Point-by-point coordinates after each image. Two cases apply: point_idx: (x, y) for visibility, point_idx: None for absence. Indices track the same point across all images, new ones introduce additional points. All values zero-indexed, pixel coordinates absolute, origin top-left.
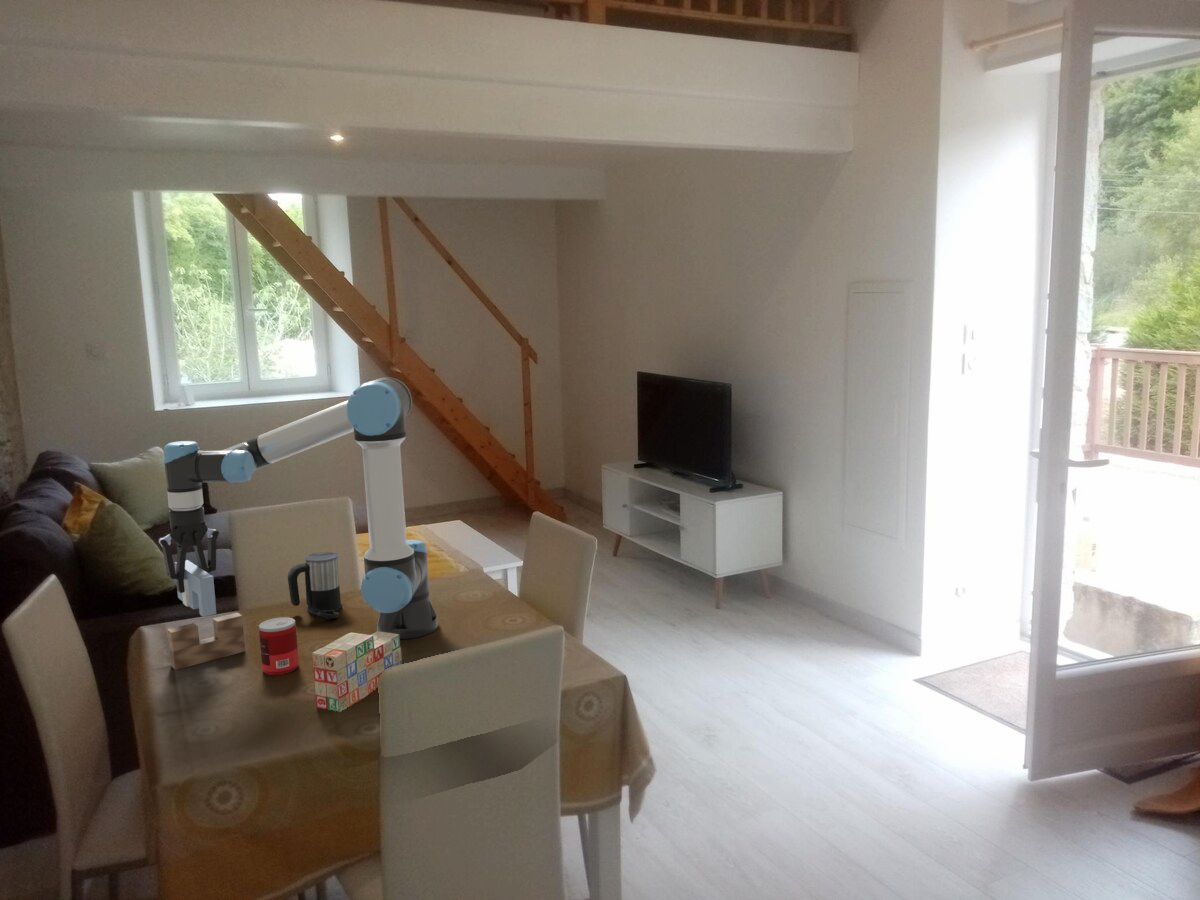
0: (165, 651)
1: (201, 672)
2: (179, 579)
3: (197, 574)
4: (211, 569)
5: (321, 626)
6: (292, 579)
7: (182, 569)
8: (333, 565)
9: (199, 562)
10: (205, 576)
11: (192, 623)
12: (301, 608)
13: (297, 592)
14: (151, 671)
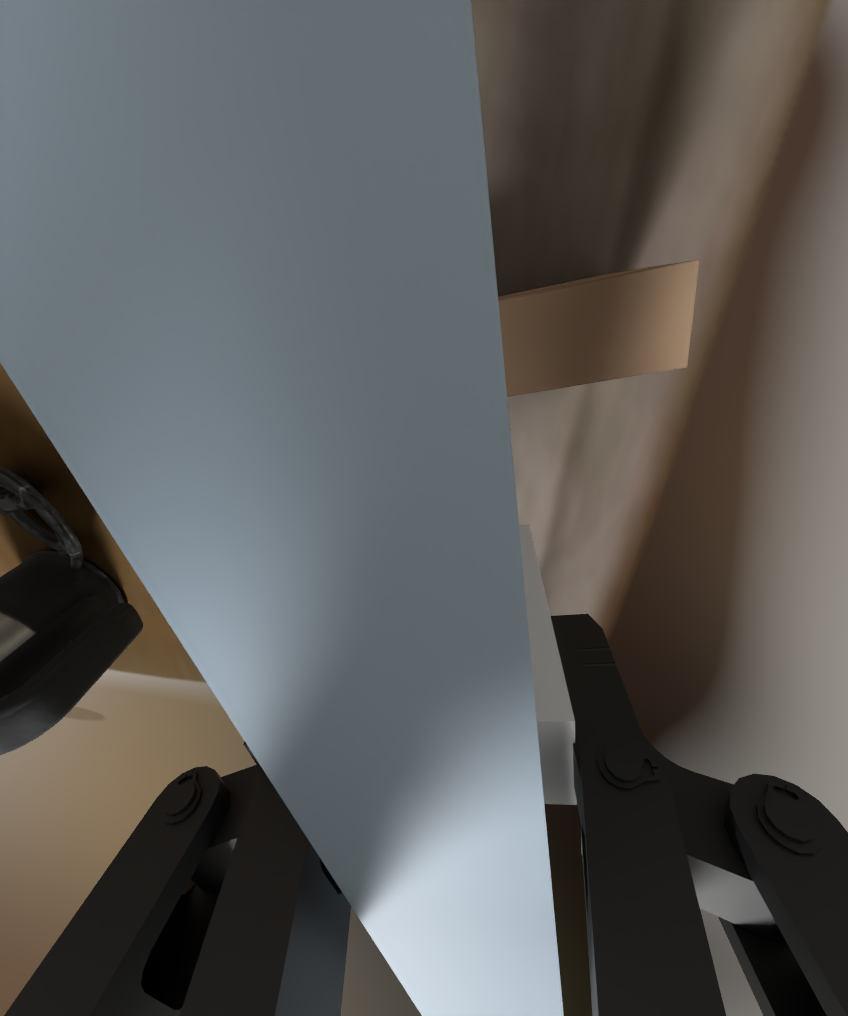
0: (570, 518)
1: (514, 148)
2: (648, 745)
3: (407, 581)
4: (211, 794)
5: (48, 442)
6: (37, 685)
7: (643, 948)
8: None
9: (306, 1011)
10: (80, 64)
11: (513, 390)
12: (148, 624)
13: (78, 637)
14: (692, 325)
